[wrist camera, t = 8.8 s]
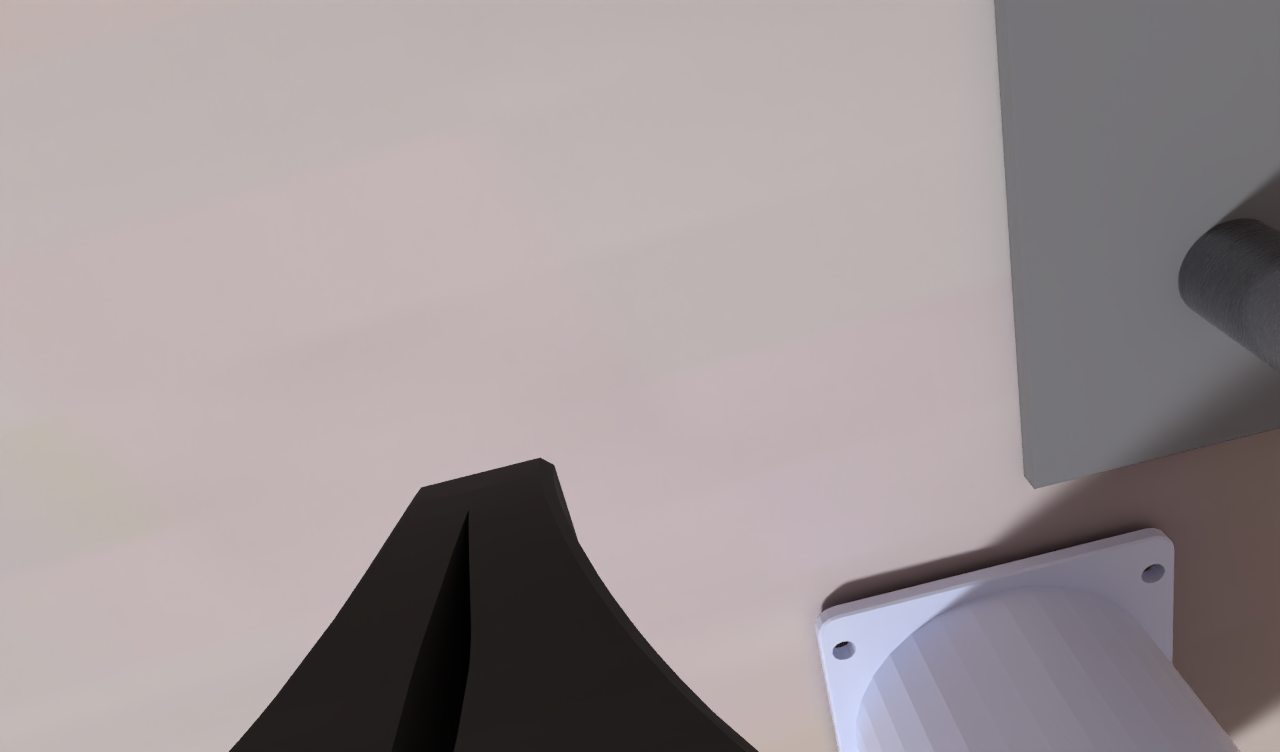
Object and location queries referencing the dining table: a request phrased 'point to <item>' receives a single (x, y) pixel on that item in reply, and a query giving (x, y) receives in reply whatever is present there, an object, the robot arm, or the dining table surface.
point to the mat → (1132, 220)
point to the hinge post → (1237, 284)
